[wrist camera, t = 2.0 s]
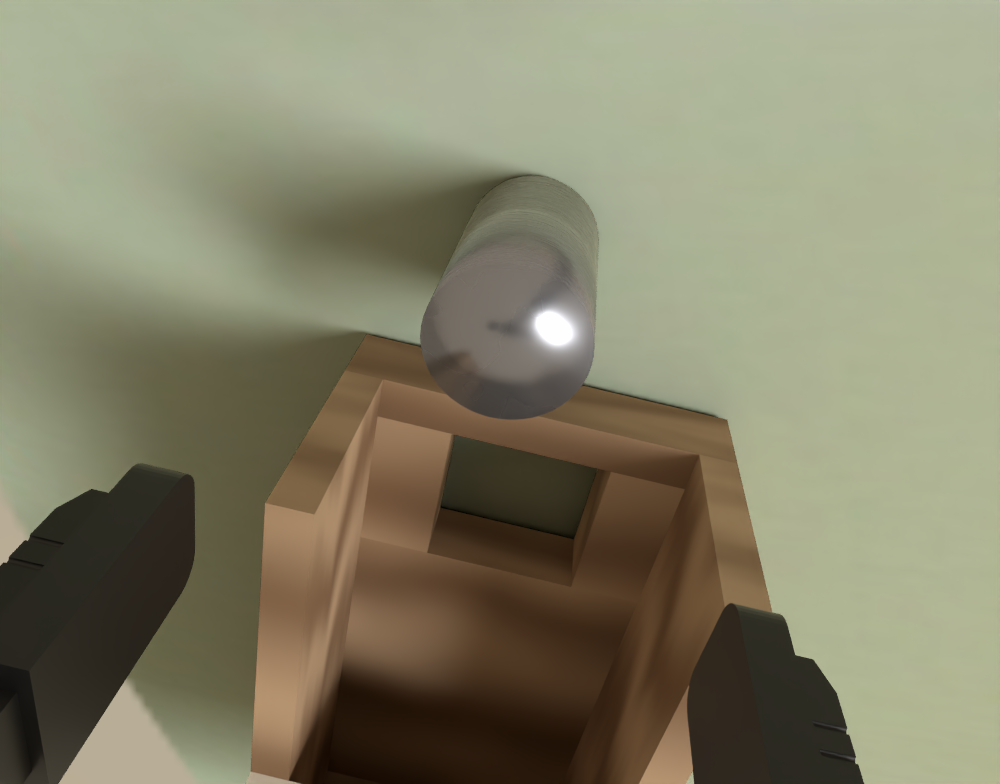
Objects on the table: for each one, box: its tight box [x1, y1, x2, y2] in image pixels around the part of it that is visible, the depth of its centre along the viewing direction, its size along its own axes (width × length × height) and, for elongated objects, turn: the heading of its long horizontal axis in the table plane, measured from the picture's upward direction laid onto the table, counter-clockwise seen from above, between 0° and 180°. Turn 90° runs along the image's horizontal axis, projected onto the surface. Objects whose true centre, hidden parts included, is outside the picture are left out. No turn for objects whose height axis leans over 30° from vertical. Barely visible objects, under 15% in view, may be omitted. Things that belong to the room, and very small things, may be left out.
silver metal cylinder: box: [420, 176, 599, 420], centre depth 21 cm, size 4×4×7 cm
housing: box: [251, 334, 772, 784], centre depth 28 cm, size 22×12×9 cm, turn 169°
